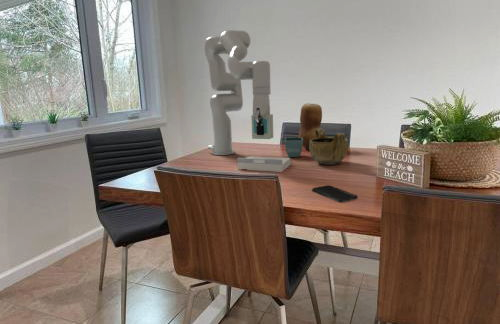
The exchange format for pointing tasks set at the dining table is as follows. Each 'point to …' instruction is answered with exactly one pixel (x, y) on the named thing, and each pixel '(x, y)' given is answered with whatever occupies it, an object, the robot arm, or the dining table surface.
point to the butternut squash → (309, 122)
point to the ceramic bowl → (328, 148)
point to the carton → (267, 127)
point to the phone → (334, 193)
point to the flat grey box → (263, 163)
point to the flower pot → (293, 146)
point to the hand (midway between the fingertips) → (262, 133)
